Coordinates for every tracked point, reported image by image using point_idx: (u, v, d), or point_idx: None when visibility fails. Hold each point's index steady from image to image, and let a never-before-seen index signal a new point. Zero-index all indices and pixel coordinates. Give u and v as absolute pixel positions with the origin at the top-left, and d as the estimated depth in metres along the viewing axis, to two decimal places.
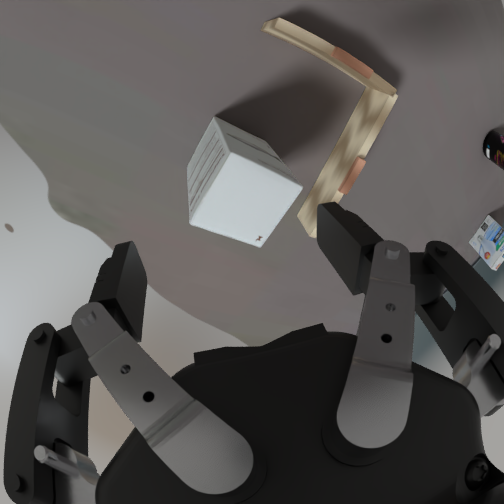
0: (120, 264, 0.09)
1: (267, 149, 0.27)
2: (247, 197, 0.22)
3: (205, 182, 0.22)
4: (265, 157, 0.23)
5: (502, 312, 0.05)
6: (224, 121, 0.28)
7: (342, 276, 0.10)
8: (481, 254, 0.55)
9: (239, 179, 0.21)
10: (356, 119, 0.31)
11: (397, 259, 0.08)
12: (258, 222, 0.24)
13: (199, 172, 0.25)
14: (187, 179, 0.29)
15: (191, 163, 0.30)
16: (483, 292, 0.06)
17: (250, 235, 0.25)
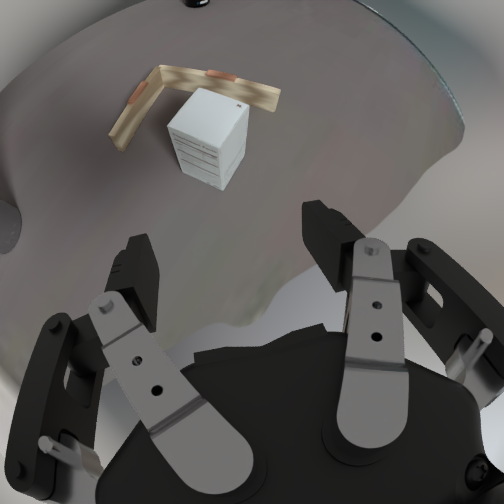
0: (136, 255, 0.10)
1: None
2: (201, 114, 0.29)
3: (194, 144, 0.30)
4: None
5: (491, 305, 0.05)
6: None
7: (325, 273, 0.11)
8: None
9: (186, 119, 0.29)
10: (186, 85, 0.42)
11: (376, 256, 0.08)
12: (223, 106, 0.29)
13: (201, 160, 0.33)
14: (220, 179, 0.37)
15: (213, 182, 0.39)
16: (470, 287, 0.06)
17: (235, 110, 0.29)
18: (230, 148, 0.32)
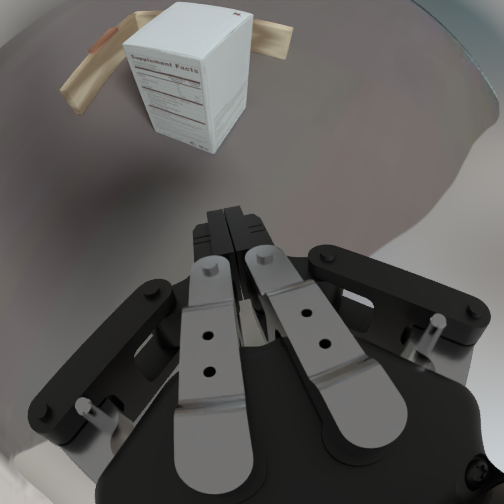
0: (222, 226, 0.10)
1: None
2: (177, 24, 0.14)
3: (162, 65, 0.15)
4: None
5: (426, 287, 0.07)
6: None
7: (239, 280, 0.11)
8: None
9: (153, 32, 0.14)
10: None
11: (264, 265, 0.08)
12: (212, 15, 0.15)
13: (177, 97, 0.19)
14: (209, 131, 0.22)
15: (199, 139, 0.24)
16: (397, 278, 0.07)
17: (231, 18, 0.15)
18: (223, 74, 0.17)
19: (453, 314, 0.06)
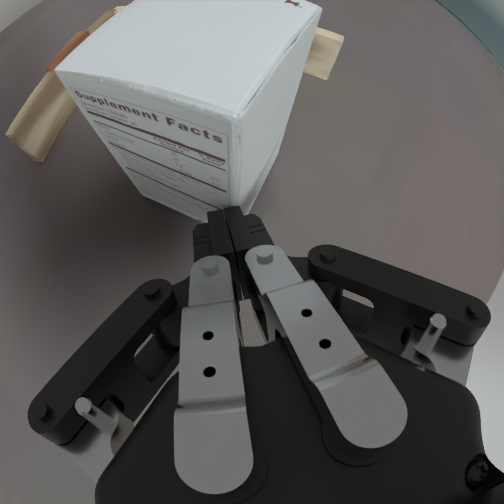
0: (223, 226, 0.10)
1: None
2: (167, 18, 0.06)
3: (137, 115, 0.07)
4: None
5: (426, 287, 0.07)
6: None
7: (239, 280, 0.11)
8: None
9: (116, 38, 0.06)
10: None
11: (264, 265, 0.08)
12: (242, 0, 0.07)
13: (174, 170, 0.11)
14: None
15: None
16: (397, 278, 0.07)
17: (284, 10, 0.07)
18: (267, 129, 0.09)
19: (453, 314, 0.06)
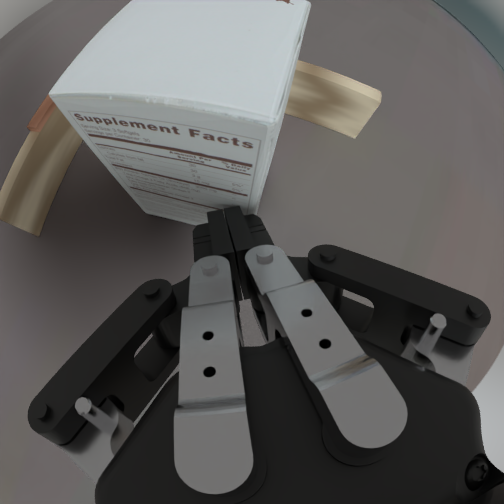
0: (222, 226, 0.10)
1: None
2: (165, 26, 0.06)
3: (152, 131, 0.07)
4: None
5: (426, 287, 0.07)
6: None
7: (239, 280, 0.11)
8: None
9: (113, 52, 0.06)
10: None
11: (264, 265, 0.08)
12: (236, 2, 0.07)
13: (189, 182, 0.11)
14: None
15: None
16: (397, 279, 0.07)
17: (279, 9, 0.07)
18: None
19: (453, 314, 0.06)
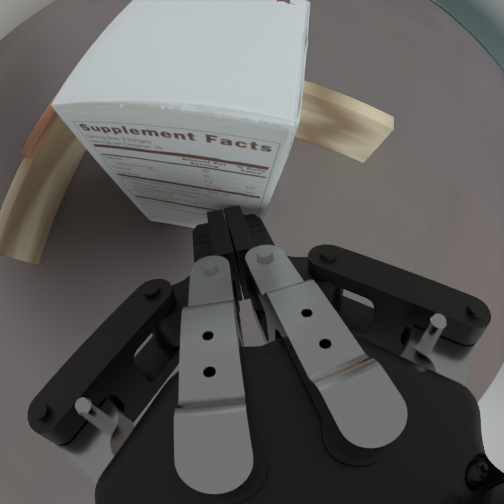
0: (222, 226, 0.10)
1: None
2: (169, 30, 0.06)
3: (166, 138, 0.07)
4: None
5: (427, 287, 0.06)
6: None
7: (239, 280, 0.11)
8: None
9: (118, 58, 0.06)
10: None
11: (264, 265, 0.08)
12: (238, 4, 0.07)
13: (200, 187, 0.11)
14: None
15: None
16: (397, 279, 0.07)
17: (281, 9, 0.07)
18: None
19: (453, 314, 0.06)
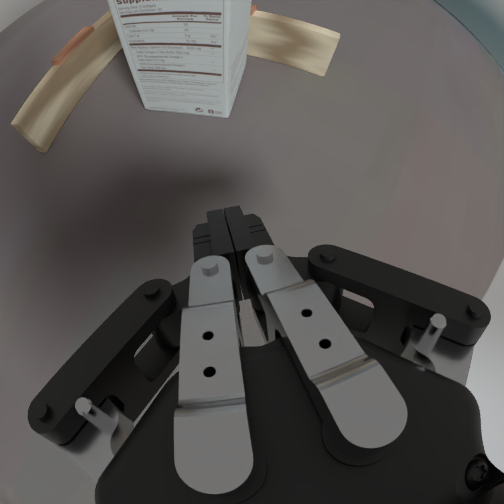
0: (222, 226, 0.10)
1: None
2: None
3: (164, 0, 0.09)
4: None
5: (426, 287, 0.07)
6: None
7: (239, 280, 0.11)
8: None
9: None
10: None
11: (264, 265, 0.08)
12: None
13: (182, 44, 0.12)
14: (225, 84, 0.16)
15: (209, 100, 0.18)
16: (397, 278, 0.07)
17: None
18: (240, 8, 0.11)
19: (453, 314, 0.06)
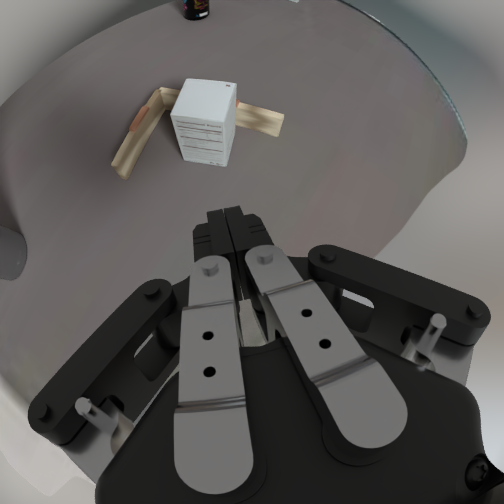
0: (222, 226, 0.10)
1: None
2: (198, 99, 0.31)
3: (198, 125, 0.32)
4: None
5: (426, 287, 0.07)
6: None
7: (239, 280, 0.11)
8: None
9: (186, 106, 0.31)
10: None
11: (264, 265, 0.08)
12: (215, 89, 0.32)
13: (205, 139, 0.36)
14: (224, 154, 0.39)
15: (217, 159, 0.41)
16: (397, 279, 0.07)
17: (226, 90, 0.32)
18: (229, 123, 0.35)
19: (453, 314, 0.06)
